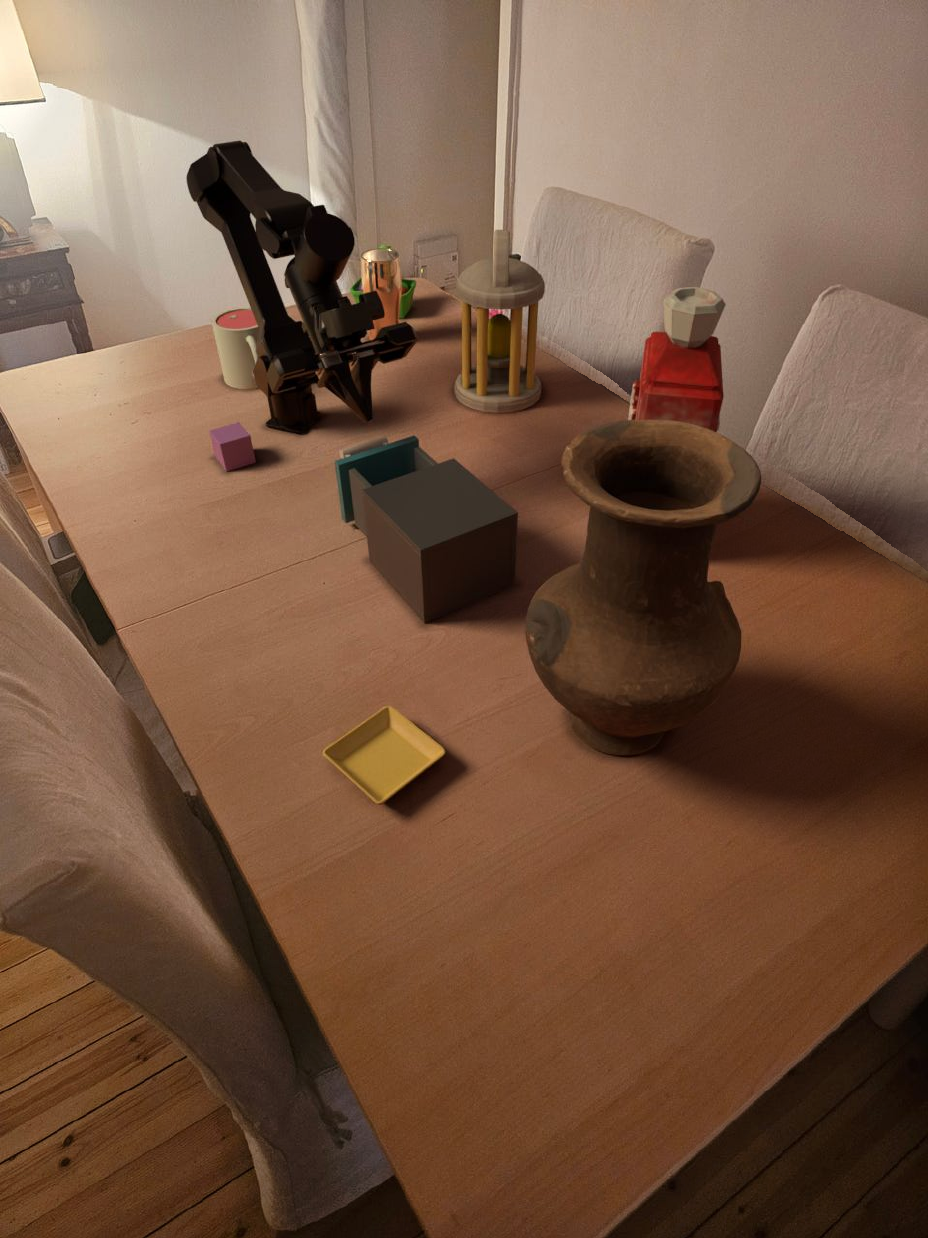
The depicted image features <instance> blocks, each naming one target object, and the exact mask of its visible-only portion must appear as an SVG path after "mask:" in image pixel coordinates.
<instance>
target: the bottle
mask: <svg viewBox="0 0 928 1238" xmlns="http://www.w3.org/2000/svg"><path fill="white" fill-rule="evenodd" d="M662 303H663V324H664V325H663V326H664V331H652V332H651V333H650V336H649V337H647V338H646V339H645V342H644V347H643V348H644V349H643V355H642V362H641V368H640V374H639V375H640V376H639V379H638V380H635V381H634V383H632V389H631V394H630V401H629V410H628V415H627V416H628V417H627V420H672V421H680V422H685V423H690V424H693V425H697V426H700V427H703V428H706V429H709V430H712V431H714V432H716V433H718V431H719V430H720V427H721V426H720V425H721V417H720V416H721V415H720V414H721V410H722V406H723V401H724V397H725V395H724V384H723V382H724V381H723V365H722V351H721V350H722V349H721V348H722V347H721V344H720V343H719V338H718V337H717V336H714V333H715V331H716V329H717V326H718V323H719V321H720V319H721V316H722V315H723V312H724V310H725V307H726V306H727V305H726V302H725V301H724V299H723V298H722V297H721V296H720V295H719V294H718V293H717V292H716V291H715V290H712V289H707V288H702V287H698V286H689V287H688V286H687V287H677V288H675V289H674V290H673V291H671V292H670V293H668V295H667V296H666V297H664V299H663V300H662Z"/></svg>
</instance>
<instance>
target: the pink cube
mask: <svg viewBox="0 0 928 1238" xmlns="http://www.w3.org/2000/svg"><path fill="white" fill-rule="evenodd" d="M208 432H209V437H210V441H211V444H212V448H213V452H214V457H215V459H216V460H217V462H218V463H219V464H220V465H221V467H222V468H223V469H224V470H225V472H231V471H233V470H235V469H236V470H237V469H240V468H243V467H246V466H250V465H253V464H256V463H257V462H256V456H255V452H254V447H253V441H252V436H251V434H249V432H248V431H247V430H246V429H245V427H244V426H243V425H242V424H241V423H240V422H239V421H238V422H234V423H231V424H227V425H223V426H220V427H218V428H214V429H210V430H209V431H208Z"/></svg>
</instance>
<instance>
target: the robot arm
mask: <svg viewBox="0 0 928 1238" xmlns="http://www.w3.org/2000/svg"><path fill="white" fill-rule="evenodd" d="M185 178H186V185H187V189H188V193H189V196H190V198H191V199H192V201H193V202H194V203H196V204H197V206H198V209H199V211H200V213H201V215H202V217H203V219H204V220H205V221H207V222H208V223H209V224H210V225H211V226H213V227H214V228H215V229H216V230H218V231H219V232H220V234H221V235H222V238H223V240H224V243H225V246H226V248H227V252H228V254H229V255H230V259H231V261H232V264H233V266H234V268H235V271H236V275H237V276H238V279H239V281H240V285H241V286H242V289H243V292H244V294H245V297H246V299H247V302H248V304H249V307H251V310H252V312H253V315H254V317H255V320H256V322H257V325H258V328H259V335H258V341H257V347H256V353H257V356H258V358H257V361H256V364H255V367H254V369H253V375H254V378H255V381H256V385H257V386H258V387H259V388H258V389H259V390H260V391H261V392H262V393H263V394H264V395H265V396H266V398H267V403H268V409H269V413H270V419H268V420H267V421H266V422H265V426H266V427H267V428H272V429H276V430H280V431H285V432H290V433H294V434H298V435H300V434H304V433H305V432H306V431H307V430H308V429H309V428H310V427H311V426H312V425H313V424H314V423H315V422H316V421H318V420H319V419H320V418H321V417H322V412H321V411H319V410H318V406H317V400H316V399H317V398H316V394H315V393H313V386H312V385H317V388H318V389H322V388H325V389H327V390H328V391H329V392H330V393H332V394H333V395H334V396H335V397H337V398H338V399H339V400H341V401H342V402H343V403H344V404H345V405H346V406H347V407H348V408H349V409H350V410H351V411H352V412H353V413H354V414H355V415H356V416H357V417H358V418H359V419H360V420H361V421H362V422H363V423H364V424H368V423H371V422H373V420H374V410H373V397H372V375H373V374H372V372H373V370H374V368H375V367H376V366H377V364H378V362H380V363H382V364H384V365H385V364H389V363H391V362H395V361H399V360H402V359H404V358H405V357H407V356H408V354H409V353H410V352H411V350H412V349H413V348H414V347H415V345H416V344H417V343H418V342H419V338H418V335H417V332H416V330H415V328H414V327H413V326H412V325H411V324H409V323H408V322H407V321H402V322H400V323H398V324H394V325H390V326H386V327H382V328H381V330H380V331H379V333H378V335H377V336H376V338H375V339H374V340H367V341H362V339H364V338H366V336H367V335H368V331H370V330H372V329H375V327H374V323H373V320H377V319H381V318H384V316H385V311H384V307H383V304H382V301H381V299H380V297H379V295H378V293H377V291H372V292H368V293H364V294H361V295H359V303H357V304H356V303H353V304H352V302H351V300H350V298H348V296H347V295H345V296H343V294H342V291H341V289H340V287H339V284H338V280H339V279H340V278H341V276H342V275H343V273H344V270H345V268H346V266H347V264H348V261H350V258H351V256H352V253H353V251H354V248H355V244H356V243H355V242H356V241H355V240H356V239H355V235H354V232H353V229H352V228H351V226H349V225H348V223H347V222H345V221H344V220H343V219H342V218H341V217H338V216H337V215H335V214H332V213H328V211H327V208H326V206H325V204H319V205H314V204H313V203H312V202H311V201H310V200H308V199H307V198H306V197H305V196H303V195H301V194H300V193H297V192H293V191H288V190H285V189H283V188H282V186H281V185H279V184H278V183H277V182H276V180H275V179H274V178H273V177H272V176H271V174H270V173H269V172H268V171H267V170H266V169H265V168H264V166H263V165H262V164H261V163H260V162H259V161H258V160H257V158H256V157H255V156H254V155H253V152H252V149H251V147H250V144H249V143H248V142H247V141H242V140H234V141H233V140H232V141H227V142H220V143H214V144H212V146H209V147H208V150H207V151H206V153H205V154H203V155H202V156H201V157H199V158H198V159H196V160H195V161H193V162H192V163H191V164H190V165H189V168H188V171H187V172H186V177H185ZM251 217H253V218H254V219H255V224H253V221H252V218H251ZM265 252H266V253H267V255H268V256H269V257H270V258H271V259H272V260H276V259H282V258H285V257H291V256H294V257H292V258H291V259H290V260H289V262H288V263H287V265H286V268H285V270H284V272H283V273H284V274H283V277H284V286H285V288H286V289H289V290H290V294H291V295H292V298H293V300H294V303H295V305H296V308H297V310H298V313H299V315H300V317H301V320H297V321H296V320H295V319H293V318H292V317H291V316H290V315H289V313H288V311H287V308H286V306H285V303H284V301H283V298H282V296H281V293H280V290H279V288H278V285H277V283H276V280H275V277H274V275H273V271H272V270H271V267H270V265H269V262H268V260H267V257H266V254H265Z"/></svg>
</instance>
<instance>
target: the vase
mask: <svg viewBox="0 0 928 1238" xmlns="http://www.w3.org/2000/svg"><path fill="white" fill-rule="evenodd" d="M560 466H561V468H562V470H563V472H562V476H563V478H564V481H565V483H566V484H567V486H568V488H569V489H570V491H572V493H573V494H574V495H575V496H576V497H577V498H579V499H580V500H581V502H583V503H584V504H586V505H587V506H589V512H588V514H589V515H588V519H587V526H586V528H587V529H586V538H585V545H584V550H583V556H582V560H581V562H579V563H576V564H573V565H571V566H568V567H567V568H565V569H563V570H561V571H559V572H557V573H556V574H554V575H552V576H551V577H549V578H548V579H546V581H544V583H543V584H542V585H541V586H540V587H539V588H538V589H537V590H536V592H535V593H534V595H533V597H532V598H531V600H530V603H529V606H528V608H527V611H526V615H525V625H524V633H525V641H526V646H527V650H528V654H529V657H530V660H531V662H532V665H533V669H534V671H535V673H536V674H537V676H538V678H539V680H540V681H541V682H542V685H543V686H544V687H545V689H546V690H547V691H548V692H549V694H550V695H551V696H552V697H553V699H554V700H556V702H558V704H559V705H561V707H563V708H564V709H566V711H568V712H569V721H570V722H571V729H572V730H573V732H574V734H575V735H576V736H577V737H579V739H580V740H581V741H583V743H585V744H586V745H587V746H589V747H591V748H592V749H594V750H597V751H598V752H601V753H605V754H607V755H614V756H633V755H634V756H635V755H638V754H642V753H646V752H647V751H650V750H652V749H653V748H655V747H656V746H657V745H658V744H659V743H660V742H661V741H662V739H663V737H664V735H665V733H666V732H667V731H670V730H674V729H677V728H679V727H682V726H684V725H686V724H688V723H689V722H691V721H692V720H694V719H695V718H697V717H698V716H700V715H702V714H703V713H704V712H705V711H706V710H708V709H709V708H710V707H711V706H712V704H714V703H715V702H716V701H717V699H718V698H720V695H721V694H722V693H723V691H724V690H725V689H726V687H727V685H728V684H729V682H730V680H731V679H732V677H733V675H734V673H735V671H736V669H737V666H738V663H739V660H740V657H741V656H740V655H741V651H742V628H741V626H740V623H739V621H738V618H737V615H736V613H735V611H734V609H733V607H732V605H731V602H730V601H729V599H728V597H727V594H726V591H725V586H724V583H723V582H722V581H720V580H713V581H708V574H709V567H710V565H709V564H710V555H711V551H712V548H713V547H712V546H713V542H714V537H715V533H716V529H717V524H721V523H724V522H727V521H729V520H731V519H734V518H735V517H737V516H739V515H740V514H741V513H743V512H745V511H746V510H747V509H748V508H749V507H750V506H751V505H752V504H753V502H754V501H755V499H756V498H757V496H758V494H759V492H760V489H761V485H762V473H761V472H762V471H761V469H760V468H759V467H760V466H759V465H758V463H757V462H756V460H755V458H753V456H752V455H751V453H749V452H748V451H747V450H745V448H743V447H742V446H740V445H739V444H738V443H736V442H734V441H732V440H731V439H729V438H728V437H726V436H724V435H722V434H720V433H718V432H714V431H712V430H709V429H706V428H703V427H700V426H697V425H693V424H690V423H685V422H680V421H672V420H628V419H625V420H619V421H613V422H607V423H605V424H601V425H597V426H594V427H592V428H590V429H588V430H586V431H583V432H582V433H580V434H578V435H576V437H574V438H573V439H572V440H571V441H570V443H568V444H567V445H566V446H565V449H564V450H563V452H562V457H561V460H560Z"/></svg>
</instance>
